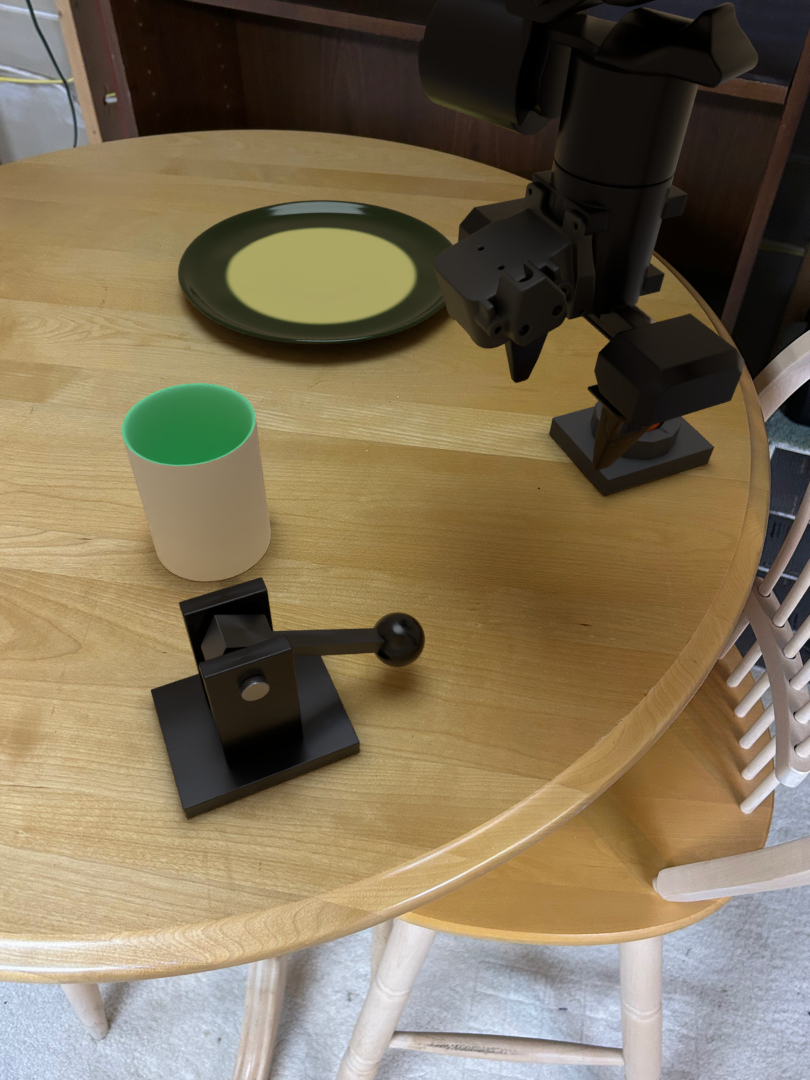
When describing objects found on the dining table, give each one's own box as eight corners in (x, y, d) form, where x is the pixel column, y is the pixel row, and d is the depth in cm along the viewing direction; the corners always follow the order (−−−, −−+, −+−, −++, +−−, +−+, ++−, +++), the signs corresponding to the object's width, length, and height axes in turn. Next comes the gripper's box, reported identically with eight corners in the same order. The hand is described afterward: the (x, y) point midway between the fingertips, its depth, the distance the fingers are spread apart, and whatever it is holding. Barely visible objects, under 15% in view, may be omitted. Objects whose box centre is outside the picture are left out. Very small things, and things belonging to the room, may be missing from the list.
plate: (482, 360, 73) (485, 336, 71) (168, 370, 70) (162, 345, 68) (441, 217, 92) (443, 196, 90) (193, 221, 89) (189, 199, 87)
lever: (397, 636, 50) (419, 600, 48) (419, 676, 48) (443, 640, 46) (195, 643, 42) (213, 601, 40) (211, 692, 40) (231, 650, 38)
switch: (312, 646, 51) (303, 541, 44) (360, 752, 46) (358, 653, 39) (154, 700, 48) (116, 597, 41) (186, 819, 43) (150, 726, 36)
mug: (147, 473, 61) (116, 358, 54) (253, 456, 63) (237, 342, 55) (159, 591, 53) (124, 476, 46) (280, 568, 55) (265, 453, 48)
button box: (708, 463, 64) (722, 429, 62) (603, 496, 61) (613, 461, 59) (648, 405, 69) (659, 371, 66) (548, 433, 66) (556, 399, 63)
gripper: (378, 115, 41) (377, 369, 53) (583, 290, 30) (525, 565, 41) (561, 89, 45) (522, 333, 56) (806, 237, 33) (695, 504, 45)
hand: (558, 421), depth 50 cm, fingers open, 9 cm apart
